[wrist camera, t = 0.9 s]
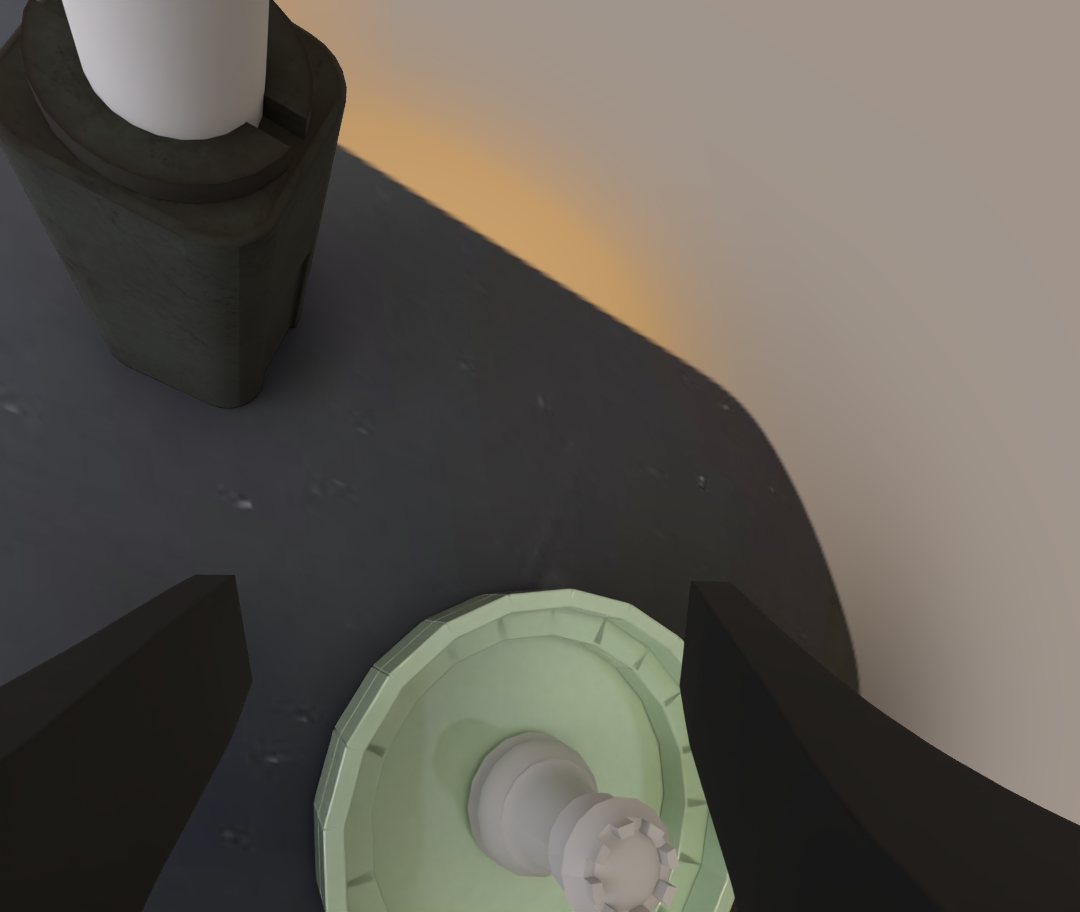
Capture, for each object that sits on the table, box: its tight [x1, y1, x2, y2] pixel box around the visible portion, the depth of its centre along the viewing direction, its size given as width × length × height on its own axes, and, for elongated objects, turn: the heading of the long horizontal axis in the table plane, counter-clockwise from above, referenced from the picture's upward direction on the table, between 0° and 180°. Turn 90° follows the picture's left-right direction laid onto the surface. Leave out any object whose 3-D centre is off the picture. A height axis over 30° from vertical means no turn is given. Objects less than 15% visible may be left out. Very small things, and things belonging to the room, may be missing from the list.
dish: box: [314, 588, 735, 912], centre depth 25 cm, size 14×14×4 cm
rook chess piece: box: [468, 732, 679, 912], centre depth 22 cm, size 4×4×8 cm
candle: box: [0, 0, 347, 408], centre depth 14 cm, size 5×5×25 cm
